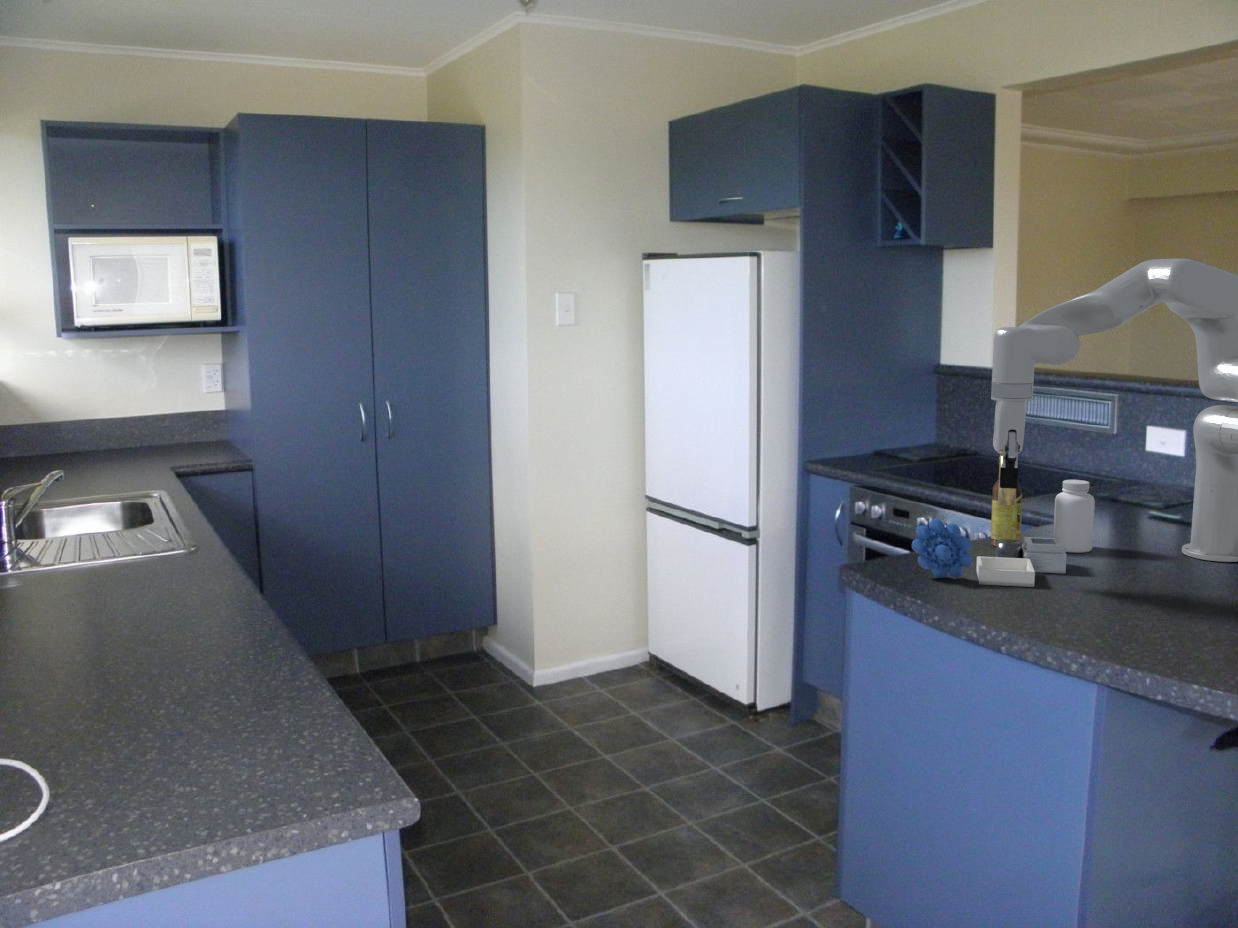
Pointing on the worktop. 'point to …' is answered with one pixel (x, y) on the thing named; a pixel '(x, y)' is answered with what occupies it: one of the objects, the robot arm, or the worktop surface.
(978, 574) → the tray
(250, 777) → the worktop surface
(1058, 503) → the pill bottle
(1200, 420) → the robot arm
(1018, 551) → the tensioner block
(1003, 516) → the sauce bottle
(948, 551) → the blue flower
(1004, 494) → the pin
